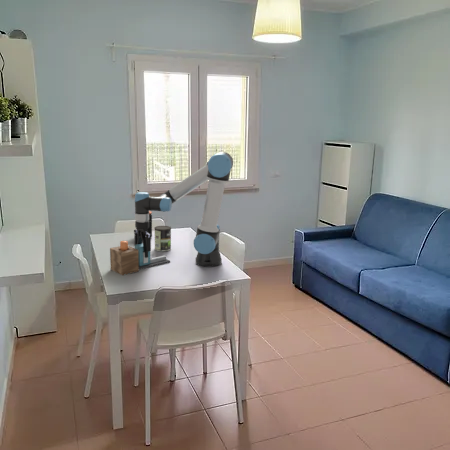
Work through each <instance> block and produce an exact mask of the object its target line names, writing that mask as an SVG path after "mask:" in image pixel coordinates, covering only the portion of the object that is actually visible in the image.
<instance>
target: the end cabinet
mask: <svg viewBox="0 0 450 450" xmlns="http://www.w3.org/2000/svg"><path fill="white" fill-rule="evenodd" d="M109 253H110V254H109V256H110V257H109V259H110V270H111V271H113V272H114V273H117V274H119V275H121V276H125V275H124V274H126V275H129V274H128V273H130V274H134V273H137V272H138V273H139V271H140V270H139V259H138V250H137V249H135V247H132V246H130V245H128V250H125V251H121V250H120V246H119V245H118V246H115V247H110V248H109ZM133 272H134V273H133Z"/></svg>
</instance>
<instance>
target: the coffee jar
mask: <svg viewBox="0 0 450 450" xmlns="http://www.w3.org/2000/svg"><path fill="white" fill-rule="evenodd" d="M152 213H153V211H150V210H149V220H148V221H149V228H148V229H147V230H148V233H149V234H151V238H152V237H153V215H152ZM135 230H137V228H136V227H135Z"/></svg>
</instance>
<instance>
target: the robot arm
mask: <svg viewBox="0 0 450 450" xmlns="http://www.w3.org/2000/svg"><path fill="white" fill-rule="evenodd" d="M233 167H234V159H233V158H232V156H231V154H230V153H229V152H226V151H219V152H217V153H215V154H213V155H212V156H210V158H209V159H208V161H206V163H205V165H204V166H202V167H201V168H199V169H198V170H197V171H195V172H193V173H192V174H190V175H189V176H187V177H186V178H184V179H183V180H182V181H180V182H178V183H177V184H175V185H173V186H172V187H171V188H169V190H166V191H165V192H163V193H161V194H160V195H159V196H150V193H149V192H147V191H139V192H136V193H135V195H134V220H135V222H134V223H135V224H134V225H135V229H134V230H133V234H134V246H135V245H137V244H142V243H143V248H144V251H143V263H148V251H150V252H151V250H152V249H151V248H152V245H151V244H152V243H151V240H152V239H151V238H152V237H151V234H149V233H148V230H147V229H148V228H149V221H148V220H149V211H151V212H153V211H154V212H162V213H163V212H170V211H171V210H172V207H173V206H172V205H173V204H174V203H175V202H177V201H179V200H180V199H182V198H183V197H185V196H186V195H188V194H190V193H192V191H194V190H195V189H197V188H198V187H200V186H201V185H204V184H205V183H207V182H208V185H207V190H206V196H205V201H204V206H203V210H202V215H201V221H200V224H199V225H197V228H196V232H195V237H194V239H193V248H194V249H195V251H196V252H197V254H196V257H195V264H196V265H198V266H201V267H218V266H220V265H222V261H223V260H222V256H221V253H220V232H221V228H220V225H219V224H218V221H219V218H220V212H221V206H222V203H223V197H224V191H225V185H226V183H228V182H229V181H230V176H231V171H232V169H233ZM136 228H137V230H136Z"/></svg>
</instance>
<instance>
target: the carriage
mask: <svg viewBox="0 0 450 450" xmlns="http://www.w3.org/2000/svg"><path fill="white" fill-rule="evenodd" d="M134 248H135V249H137V250H138V259H139V266H143V265H147V264H150V260H151V251H148V263H143V251H144V248H143V242H142V244H136V245H135V244H134Z"/></svg>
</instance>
